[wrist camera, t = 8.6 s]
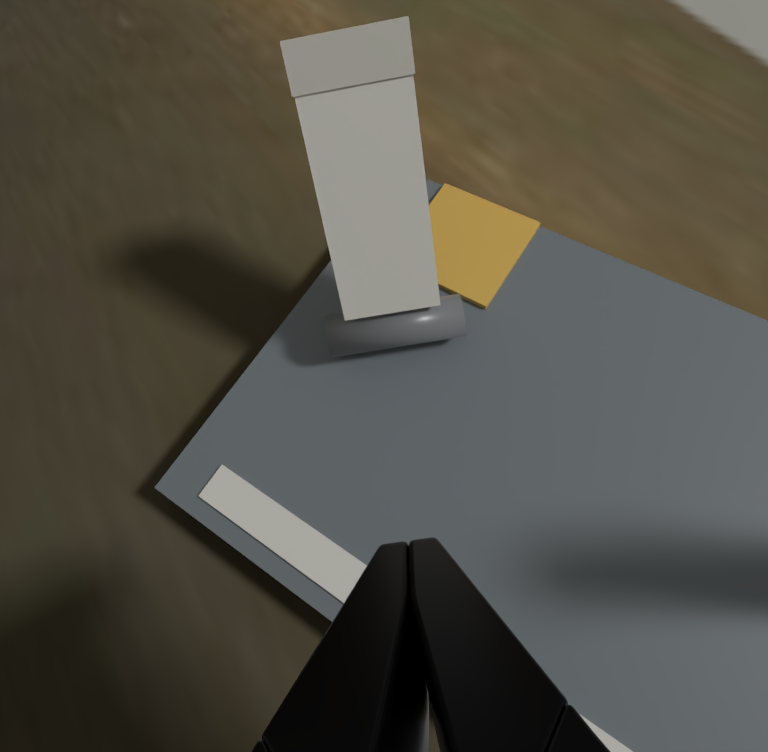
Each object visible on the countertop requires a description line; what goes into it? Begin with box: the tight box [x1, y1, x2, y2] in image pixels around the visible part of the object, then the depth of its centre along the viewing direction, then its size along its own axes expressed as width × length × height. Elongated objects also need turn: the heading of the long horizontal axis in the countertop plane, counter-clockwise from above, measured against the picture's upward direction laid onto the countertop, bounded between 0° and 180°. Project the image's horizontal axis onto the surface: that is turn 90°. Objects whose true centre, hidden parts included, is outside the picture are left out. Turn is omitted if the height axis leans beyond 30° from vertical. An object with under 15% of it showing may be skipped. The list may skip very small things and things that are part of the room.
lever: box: [280, 16, 466, 357], centre depth 16 cm, size 2×4×9 cm
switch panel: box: [154, 179, 768, 752], centre depth 16 cm, size 15×25×1 cm, turn 57°
